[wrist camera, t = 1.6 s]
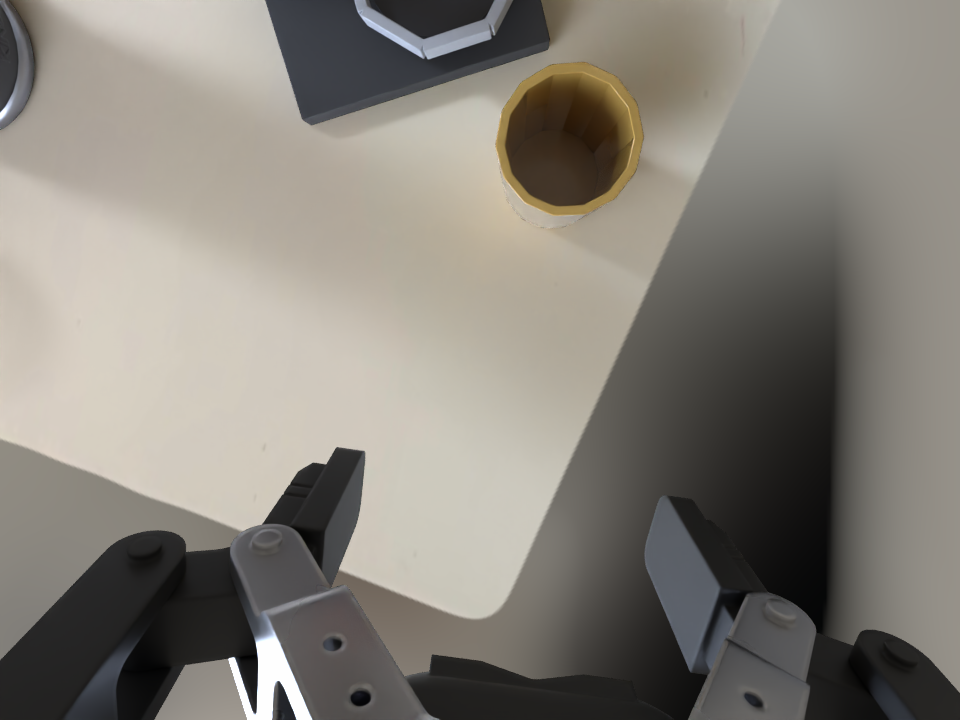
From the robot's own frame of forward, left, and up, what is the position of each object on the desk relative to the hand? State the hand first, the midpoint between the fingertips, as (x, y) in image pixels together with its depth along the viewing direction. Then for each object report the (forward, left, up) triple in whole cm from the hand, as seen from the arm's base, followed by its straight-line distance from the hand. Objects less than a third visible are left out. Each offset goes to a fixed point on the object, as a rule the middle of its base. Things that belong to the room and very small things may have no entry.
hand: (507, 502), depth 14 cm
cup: (+5, +10, -21) cm, 24 cm away
